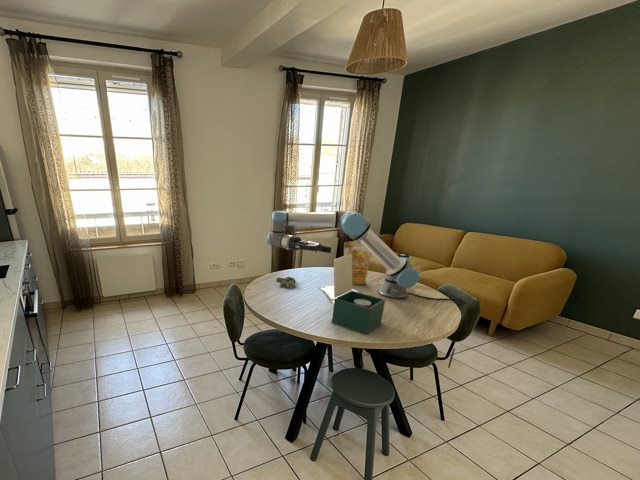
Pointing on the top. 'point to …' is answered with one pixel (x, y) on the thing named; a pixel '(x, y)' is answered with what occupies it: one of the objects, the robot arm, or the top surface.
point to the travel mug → (403, 255)
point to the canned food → (363, 302)
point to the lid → (342, 275)
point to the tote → (357, 312)
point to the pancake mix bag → (358, 260)
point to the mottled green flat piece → (289, 285)
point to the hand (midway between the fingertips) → (330, 250)
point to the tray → (332, 292)
